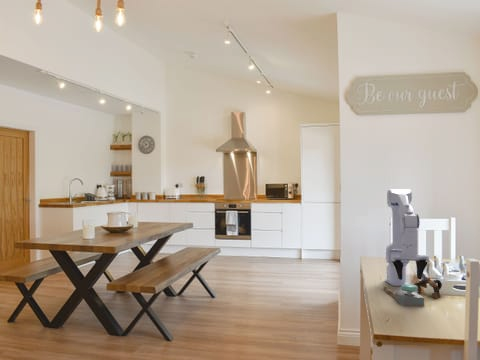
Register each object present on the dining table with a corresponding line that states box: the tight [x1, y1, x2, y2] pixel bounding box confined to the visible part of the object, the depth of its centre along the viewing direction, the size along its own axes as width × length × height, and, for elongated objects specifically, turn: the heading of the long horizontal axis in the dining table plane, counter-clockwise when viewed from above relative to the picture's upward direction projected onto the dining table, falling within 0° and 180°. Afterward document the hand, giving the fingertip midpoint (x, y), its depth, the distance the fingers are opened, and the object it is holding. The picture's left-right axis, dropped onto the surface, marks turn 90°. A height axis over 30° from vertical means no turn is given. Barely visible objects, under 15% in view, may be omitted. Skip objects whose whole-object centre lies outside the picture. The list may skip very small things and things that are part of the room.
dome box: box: [394, 291, 425, 307], centre depth 161 cm, size 8×8×3 cm
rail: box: [383, 286, 395, 299], centre depth 171 cm, size 14×1×2 cm, turn 2°
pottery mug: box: [412, 277, 443, 299], centre depth 172 cm, size 12×9×8 cm
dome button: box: [400, 283, 418, 296], centre depth 161 cm, size 6×6×4 cm
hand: (409, 279), depth 161 cm, fingers open, 7 cm apart
